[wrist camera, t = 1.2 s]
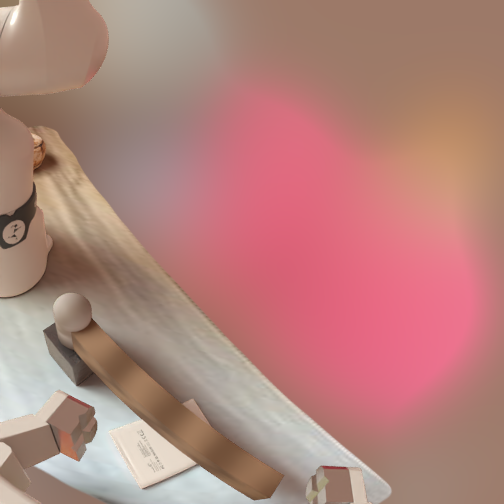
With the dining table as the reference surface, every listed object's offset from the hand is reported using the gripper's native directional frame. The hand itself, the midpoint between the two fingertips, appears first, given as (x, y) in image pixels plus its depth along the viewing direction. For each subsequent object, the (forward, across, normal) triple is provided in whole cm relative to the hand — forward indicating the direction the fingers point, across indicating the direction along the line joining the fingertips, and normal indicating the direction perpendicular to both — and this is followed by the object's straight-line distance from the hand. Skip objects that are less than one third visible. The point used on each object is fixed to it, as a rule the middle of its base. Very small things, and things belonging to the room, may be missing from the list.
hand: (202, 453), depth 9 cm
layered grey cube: (+21, +20, +19) cm, 35 cm away
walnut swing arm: (+15, +7, +17) cm, 24 cm away
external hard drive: (+17, +5, +25) cm, 31 cm away
